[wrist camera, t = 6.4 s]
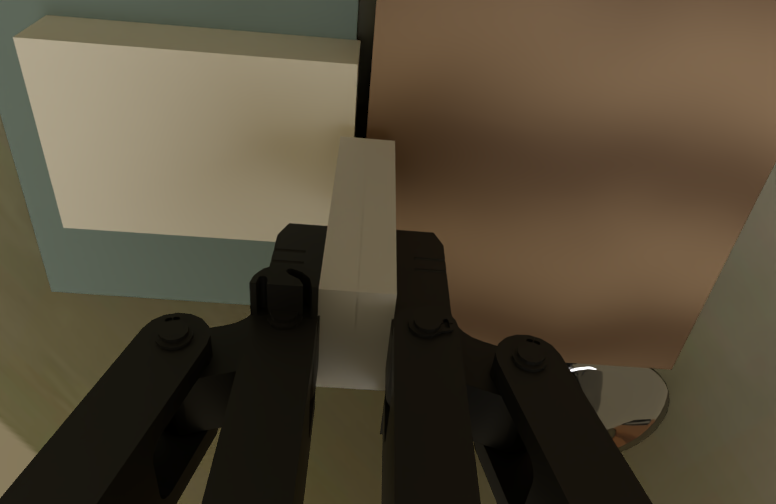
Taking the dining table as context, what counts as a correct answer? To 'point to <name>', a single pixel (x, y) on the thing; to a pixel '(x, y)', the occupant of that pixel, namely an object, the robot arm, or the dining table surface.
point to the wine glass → (624, 399)
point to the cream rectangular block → (188, 124)
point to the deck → (578, 158)
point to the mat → (128, 249)
